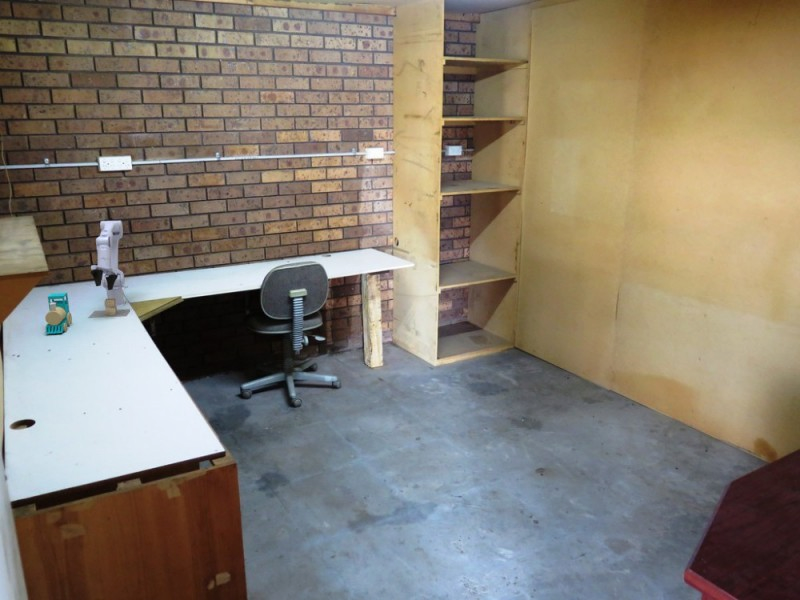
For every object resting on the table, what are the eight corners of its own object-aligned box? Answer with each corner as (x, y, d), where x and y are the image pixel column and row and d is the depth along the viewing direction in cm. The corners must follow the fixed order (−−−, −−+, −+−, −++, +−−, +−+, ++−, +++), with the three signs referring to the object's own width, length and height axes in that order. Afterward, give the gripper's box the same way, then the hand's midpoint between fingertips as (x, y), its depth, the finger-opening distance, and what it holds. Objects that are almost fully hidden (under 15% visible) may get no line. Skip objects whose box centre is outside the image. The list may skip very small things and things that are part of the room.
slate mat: (94, 311, 304) (94, 310, 304) (131, 310, 308) (131, 309, 308) (88, 318, 292) (88, 317, 292) (126, 317, 296) (126, 316, 296)
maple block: (108, 313, 300) (106, 298, 298) (117, 313, 300) (115, 298, 299) (106, 315, 296) (104, 300, 294) (115, 315, 297) (113, 300, 295)
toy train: (43, 336, 267) (39, 302, 263) (53, 325, 282) (49, 293, 278) (64, 334, 269) (59, 301, 265) (72, 324, 284) (69, 292, 280)
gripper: (99, 254, 285) (100, 282, 282) (122, 262, 299) (122, 289, 295) (87, 257, 287) (87, 285, 283) (110, 265, 300) (110, 292, 297)
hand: (104, 287), depth 289 cm, fingers open, 7 cm apart
